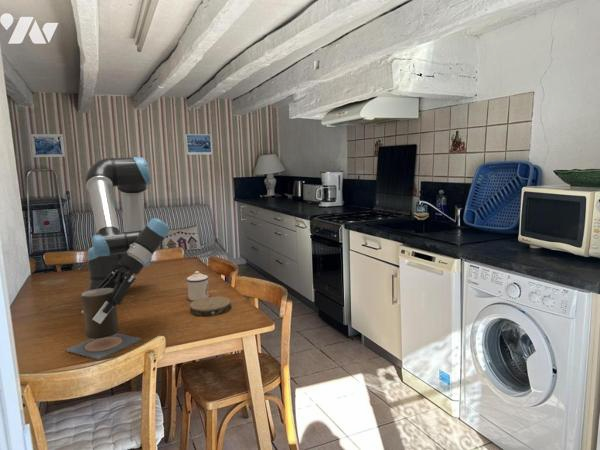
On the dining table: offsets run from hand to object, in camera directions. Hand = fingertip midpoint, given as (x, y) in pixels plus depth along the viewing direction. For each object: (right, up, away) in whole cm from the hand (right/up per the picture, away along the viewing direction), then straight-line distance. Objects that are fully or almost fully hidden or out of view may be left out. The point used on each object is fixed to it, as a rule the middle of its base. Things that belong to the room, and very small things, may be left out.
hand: (90, 318), depth 135 cm
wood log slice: (+31, -5, +35) cm, 46 cm away
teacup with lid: (+22, -2, +52) cm, 56 cm away
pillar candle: (+2, -6, +3) cm, 7 cm away
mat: (+3, -10, +4) cm, 11 cm away
